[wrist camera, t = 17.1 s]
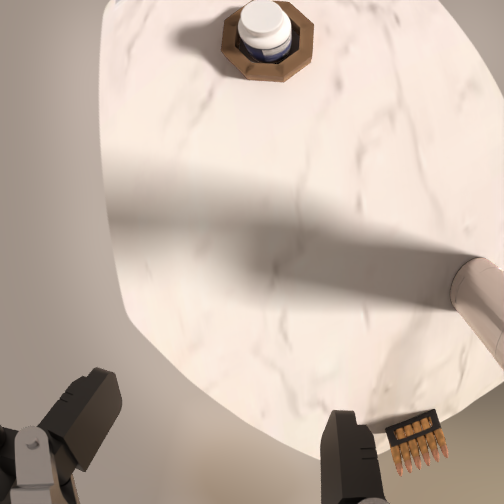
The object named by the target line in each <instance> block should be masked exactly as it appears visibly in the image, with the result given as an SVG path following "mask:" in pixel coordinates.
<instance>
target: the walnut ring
mask: <svg viewBox="0 0 504 504" xmlns="http://www.w3.org/2000/svg"><path fill="white" fill-rule="evenodd" d="M252 1H254V0H252ZM252 1H251V2H252ZM273 2H275V3H276V4H278V5H279V6H280V7H281V9H282V11H284V12H285V13H286V14H287V16H288V17H289V19H290V22H291V28H292V29H293V30H294V31H295V32H296V33H297V34H298V35H299V36H300V40H299V50H298V51H296V52H295V53H293V54H292V55H291V56H289V57H288V58H287V59H285V60H284V61H282V62H281V63H280V64H267V63H251V62H250V61H249V60H248V59H247V58H246V57H245V56H244V55H243V54H242V53H241V52H240V51H239V46H240V34H239V31H238V23H239V20H240V18H241V12H242V10H243V8H244V7H245V6H246V5H247V4H246V5H245V6H243V7H242V8H241V9H239V10H238V11H236V12H235V13H234V14H232V15H231V16H230V17H228V18H227V19H226V20H225V21H224V29H223V37H222V46H221V51H222V53H223V54H224V55H225V57H226V58H227V59H228V60H229V61H230V62H231V63H232V64H233V65H234V66H235V67H236V68H237V69H238V70H239V71H240V72H241V73H242V74H243V75H244V76H245V77H246V78H247V79H248V80H258V81H273V82H285V81H286V80H288V79H289V78H290V77H292V76H293V75H294V74H296V73H297V72H298V71H300V70H301V69H303V68H304V67H305V66H307V65H308V64H310V63H311V59H312V52H313V34H314V24H313V23H312V22H311V21H310V20H309V19H307V18H306V17H305V16H304V15H303V14H302V13H301V12H300V11H299V10H298V9H296V8H295V7H294V6H293V5H292V4H291V3H290V2H283V1H273ZM249 3H250V2H249Z"/></svg>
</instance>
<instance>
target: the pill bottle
mask: <svg viewBox="0 0 504 504" xmlns="http://www.w3.org/2000/svg"><path fill="white" fill-rule="evenodd" d="M238 31H239V34H240V37H241V39H242V41H243V43H244V45H245V47H246V49H247V51H248V53H249V54H250V55H251V57H252V58H254V59H255V60H256V61H258V62H261V63H267V64H272V63H277V62H279V61H281V60H283V59H284V58H285V57H286V56H287V55H288V54H289V52H290V50H291V42H292V41H291V22H290V19H289V17H288V16H287V14H286V13H285V12H284V11H282V9H281V7H280V6H279V5H278V4H276V3H275V2H273V1H270V0H254V1H252V2H250V3H248V4H247V5H246V6H245V7H244V8H243V10H242V12H241V18H240V20H239V23H238Z"/></svg>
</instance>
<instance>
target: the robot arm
mask: <svg viewBox="0 0 504 504" xmlns="http://www.w3.org/2000/svg"><path fill="white" fill-rule="evenodd" d="M450 297H451V302H452V305H453V306H454V308H455V309H456V310H457V311H458V313H459V314H460V315H461V316H462V317H463V319H464V320H465V321H466V322H467V324H468V325H469V326H470V327H471V329H472V330H473V331H474V332H475V334H476V335H477V336H478V337H479V339H480V340H481V341H482V343H483V344H484V345H485V346H486V348H487V349H488V350H489V352H490V353H491V354H492V356H493V357H494V358H495V360H496V361H497V362H498V364H499V365H500V366H501V368H502V369H503V371H504V271H503V270H502V269H500V268H499V267H498V266H496V265H495V264H493V263H492V262H491V261H489V260H487V259H486V258H475V259H472V260H470V261H469V262H467V263H466V264H465V265H464V266H463V267H461V269H460V270H459V271H458V273H457V274H456V276H455V278H454V280H453V283H452V286H451V292H450ZM121 407H122V397H121V394H120V390H119V386H118V382H117V378H116V375H115V374H114V373H113V372H110V371H107V370H104V369H101V368H97V367H96V368H94V369H93V370H92V371H91V372H90V374H89V375H88V376H87V377H84V376H82V377H80V378H79V379H77V380H75V381H74V382H72V383H71V385H70V386H69V387H68V388H67V389H66V391H65V393H63V394H62V396H61V397H60V400H58V401H57V402H56V403H55V404H54V406H53V407H52V408H51V410H50V411H49V412H48V414H47V415H46V416H45V417H44V419H43V420H42V421H41V423H40V424H39V425H38V426H37V427H35V426H28V427H25V428H23V429H21V430H20V431H17V430H12V429H8V428H4V427H2V426H1V425H0V504H80V501H79V497H78V493H77V489H76V485H75V481H74V477H73V474H72V473H73V471H74V470H75V468H77V469H79V470H81V471H83V472H86V470H87V468H88V467H89V465H90V463H91V461H92V460H93V458H94V456H95V454H96V453H97V451H98V449H99V447H100V446H101V444H102V442H103V440H104V439H105V437H106V435H107V434H108V432H109V430H110V428H111V427H112V425H113V423H114V422H115V420H116V418H117V417H118V415H119V413H120V411H121ZM375 449H376V446H375V441H374V436H373V434H372V433H371V431H370V430H369V428H368V427H367V426H366V425H357V423H356V417H355V413H354V411H343V410H333V411H332V412H331V415H330V417H329V420H328V422H327V425H326V427H325V430H324V432H323V435H322V438H321V445H320V457H321V504H390V503H388V502H387V500H386V499H385V496H384V493H383V486H382V481H381V474H380V468H379V463H378V460H377V451H376V450H375Z"/></svg>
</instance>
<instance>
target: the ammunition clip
mask: <svg viewBox="0 0 504 504" xmlns="http://www.w3.org/2000/svg"><path fill="white" fill-rule="evenodd" d="M429 421H430V423H429ZM430 424H431V425H430ZM421 425H422V427H421ZM431 426H432V427H431ZM422 428H423V430H422ZM385 430H386V433H387V437H388V440H389V444H390V448H391V453H392V457H393V460H394V462H395V466H396V469H397V472H398V474H399V475H400V476H402V473H403V467H402V461H401V454H402V457H403V459H404V462H405V466H406V468H407V470H408V472H409V473H411V471H412V464H411V458H410V452H411V454H412V456H413V459H414V462H415V465H416V466H417V468H418V469H419V470H420V469H421V460H420V455H419V449H420V451H421V453H422V455H423V458H424V461H425V462H426V464H427V465H428V466H429V465H430V457H429V452H428V446H429V448H430V449H431V452H432V455H433V457H434V458H435V460H436V461H437V462H439V452H438V448H437V443H438V444H439V446H440V448H441V451H442V453H443V454H444V456H445V457H446V458H448V449H447V446H446V442H445V437H444V434H443V432H442V429H441V426H440V423H439V420H438V416H437V413H436V410H435V409H433V410H431V411H428V412H426V413H424V414H421V415H419V416H417V417H414V418H412V419H409V420H407V421H404V422H401V423H399V424H396V425H393V426H391V427H388V428H386V429H385ZM413 430H414V431H413ZM404 431H405V432H404ZM414 433H415V434H414ZM405 434H406V436H405ZM396 435H397V436H396ZM434 435H435V437H436V440H437V443H436V440H435V437H434ZM397 439H398V440H397ZM426 440H427V443H428V446H427V443H426ZM417 443H418V445H417ZM408 445H409V447H408ZM418 446H419V448H418ZM409 448H410V451H409ZM400 450H401V453H400Z"/></svg>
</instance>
